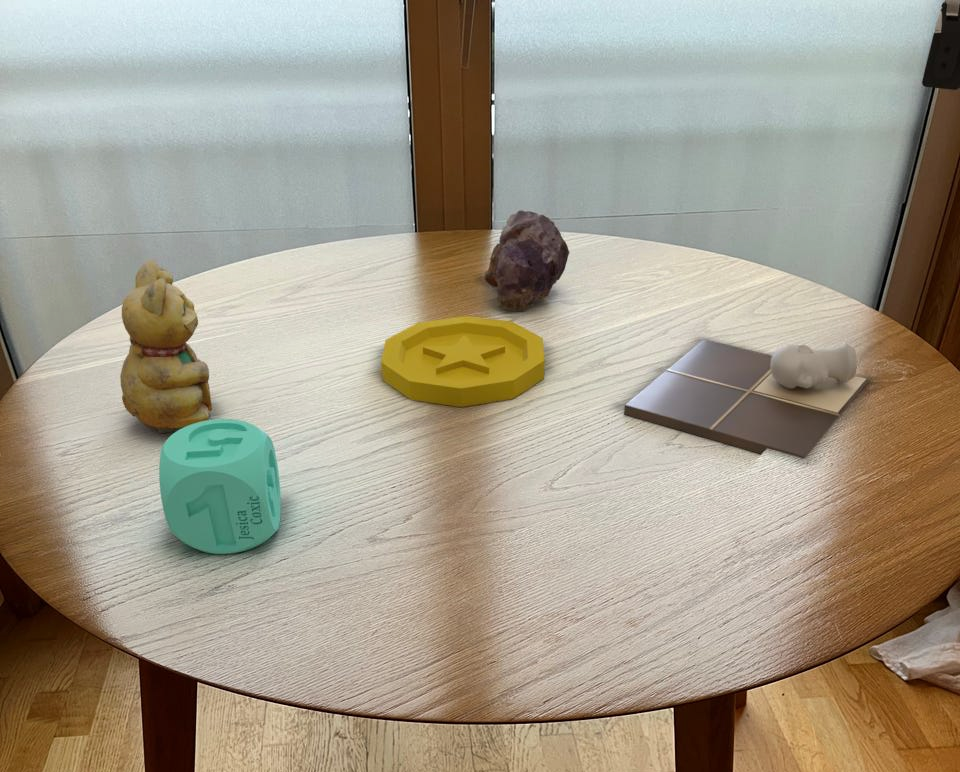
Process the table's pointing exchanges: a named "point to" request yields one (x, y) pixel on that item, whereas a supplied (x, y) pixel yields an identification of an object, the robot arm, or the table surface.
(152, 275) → the decorative figurine
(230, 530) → the decorative dice
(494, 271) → the rock
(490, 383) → the decorative disc
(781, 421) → the board
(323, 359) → the table surface
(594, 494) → the table surface
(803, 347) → the smooth white sculpture
